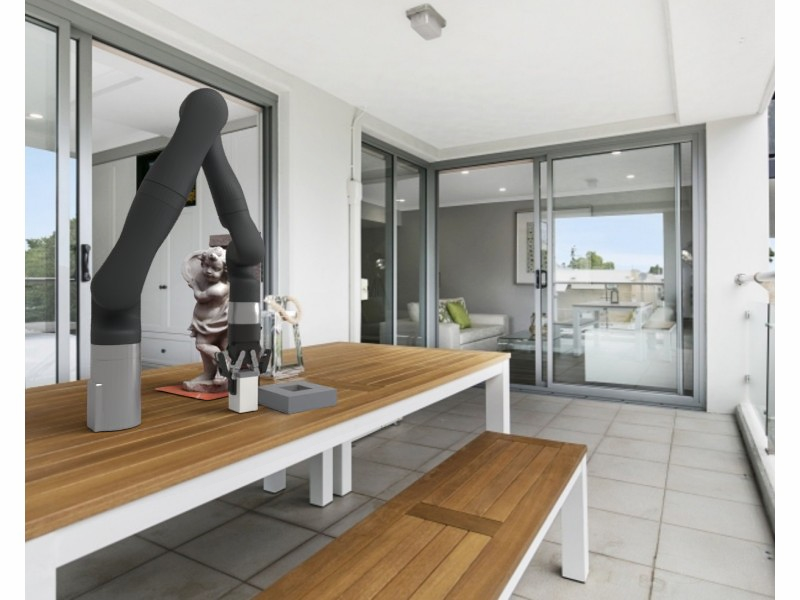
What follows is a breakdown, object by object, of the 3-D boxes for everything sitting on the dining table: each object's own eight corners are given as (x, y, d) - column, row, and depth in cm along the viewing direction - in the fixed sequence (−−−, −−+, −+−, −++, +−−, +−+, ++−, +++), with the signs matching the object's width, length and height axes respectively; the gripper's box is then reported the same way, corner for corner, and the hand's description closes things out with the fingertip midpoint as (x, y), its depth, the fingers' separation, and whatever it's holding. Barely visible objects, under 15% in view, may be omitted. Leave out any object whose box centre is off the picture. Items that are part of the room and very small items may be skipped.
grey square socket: (288, 414, 117) (288, 396, 117) (254, 402, 128) (254, 386, 128) (336, 405, 126) (337, 389, 126) (300, 394, 138) (301, 380, 138)
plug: (239, 412, 116) (240, 373, 116) (228, 408, 120) (229, 370, 120) (257, 409, 119) (258, 371, 119) (246, 405, 123) (246, 369, 123)
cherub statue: (154, 390, 140) (155, 228, 139) (210, 381, 156) (211, 235, 155) (207, 401, 128) (208, 224, 127) (262, 389, 144) (264, 232, 143)
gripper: (222, 323, 111) (221, 400, 112) (279, 321, 121) (278, 392, 122) (207, 321, 117) (206, 394, 117) (263, 319, 127) (262, 387, 127)
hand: (243, 392), depth 119 cm, fingers closed on plug, 4 cm apart
